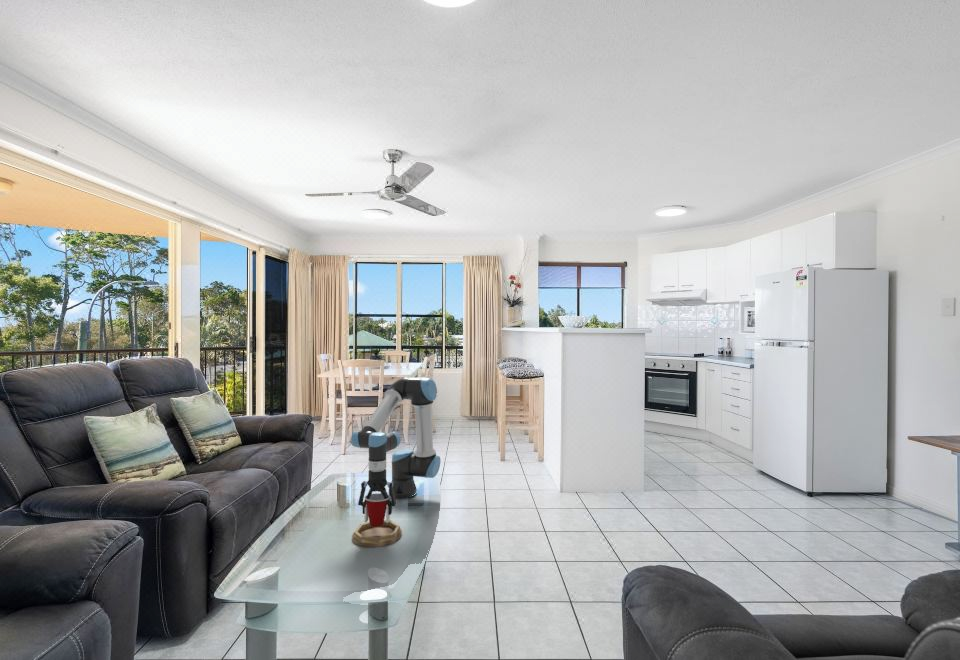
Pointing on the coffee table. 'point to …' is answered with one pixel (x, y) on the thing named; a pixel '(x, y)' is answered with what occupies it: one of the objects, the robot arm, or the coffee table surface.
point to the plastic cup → (376, 509)
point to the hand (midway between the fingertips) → (377, 521)
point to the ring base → (376, 534)
